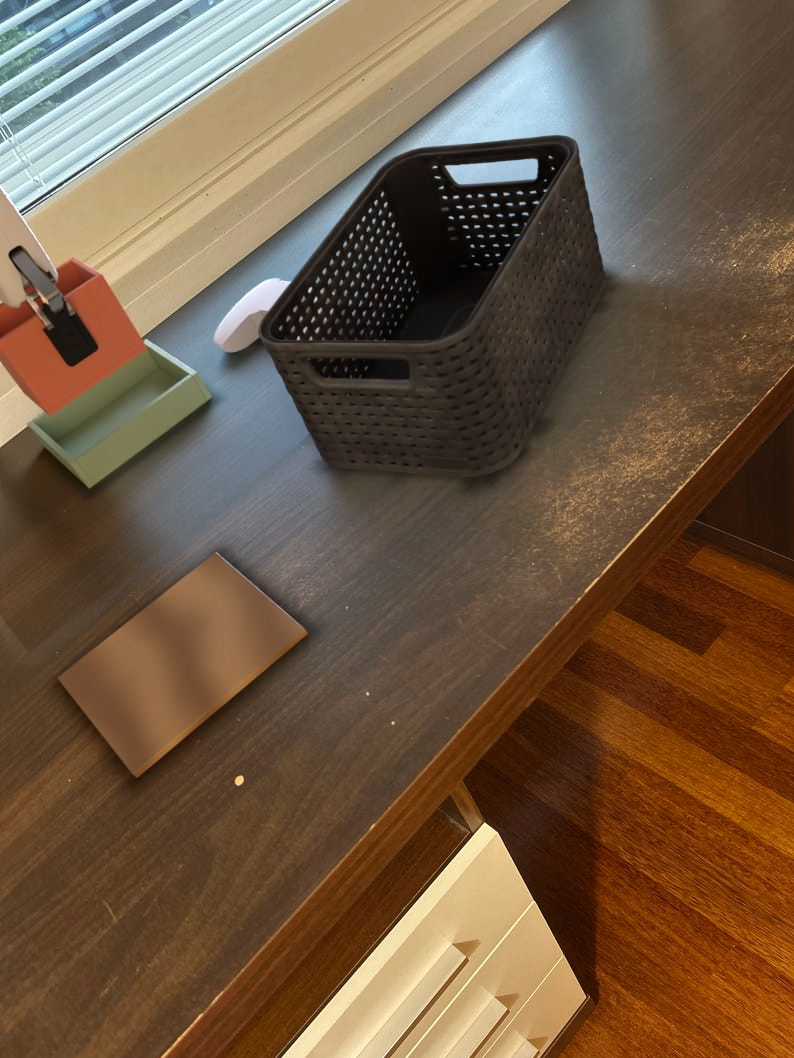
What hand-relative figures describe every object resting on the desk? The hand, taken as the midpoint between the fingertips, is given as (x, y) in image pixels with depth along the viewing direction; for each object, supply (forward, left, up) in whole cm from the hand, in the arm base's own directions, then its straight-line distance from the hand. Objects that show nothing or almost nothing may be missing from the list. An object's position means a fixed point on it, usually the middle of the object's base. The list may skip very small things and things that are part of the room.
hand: (67, 344), depth 94 cm
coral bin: (0, 0, -3) cm, 3 cm away
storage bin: (+24, -26, -10) cm, 37 cm away
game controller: (+18, -5, -10) cm, 22 cm away
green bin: (0, 0, -10) cm, 10 cm away
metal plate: (-12, -32, -10) cm, 36 cm away
